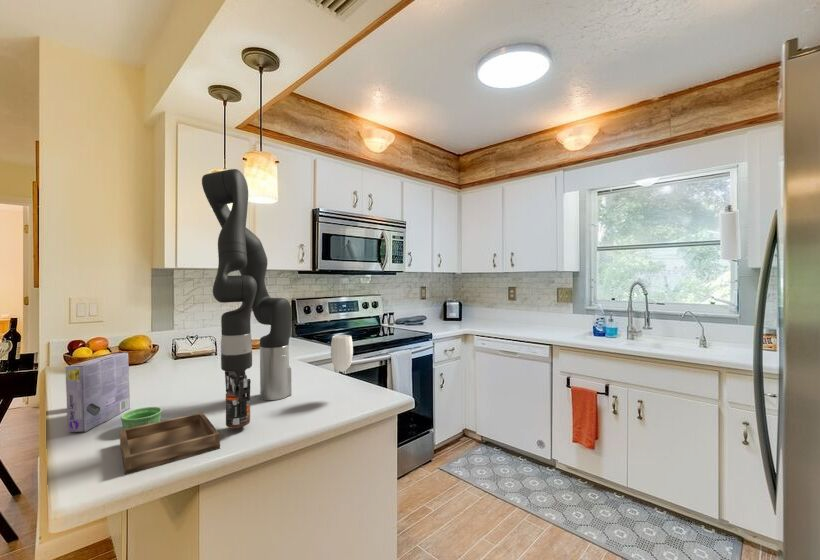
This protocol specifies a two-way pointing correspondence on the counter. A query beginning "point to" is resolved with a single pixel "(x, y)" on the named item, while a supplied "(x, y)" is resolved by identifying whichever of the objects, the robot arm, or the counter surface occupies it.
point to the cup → (341, 352)
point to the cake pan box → (97, 391)
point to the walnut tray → (167, 441)
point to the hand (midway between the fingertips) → (237, 412)
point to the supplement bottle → (235, 411)
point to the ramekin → (141, 417)
